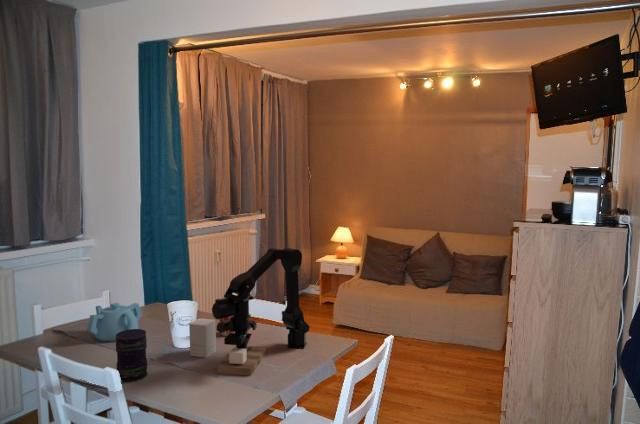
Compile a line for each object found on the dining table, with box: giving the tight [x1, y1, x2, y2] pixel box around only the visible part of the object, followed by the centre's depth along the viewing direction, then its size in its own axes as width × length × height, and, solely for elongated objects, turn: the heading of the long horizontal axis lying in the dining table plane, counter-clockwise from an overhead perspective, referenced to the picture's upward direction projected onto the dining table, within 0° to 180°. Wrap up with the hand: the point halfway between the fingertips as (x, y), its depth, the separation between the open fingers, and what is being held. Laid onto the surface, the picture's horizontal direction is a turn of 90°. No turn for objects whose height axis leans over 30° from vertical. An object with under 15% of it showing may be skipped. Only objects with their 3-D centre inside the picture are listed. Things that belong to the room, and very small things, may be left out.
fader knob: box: [228, 347, 247, 364], centre depth 172 cm, size 4×5×4 cm
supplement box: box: [188, 318, 217, 359], centre depth 187 cm, size 7×7×13 cm
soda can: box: [218, 316, 235, 337], centre depth 208 cm, size 7×7×13 cm
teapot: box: [86, 302, 143, 342], centre depth 206 cm, size 19×19×14 cm
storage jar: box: [115, 328, 148, 383], centre depth 166 cm, size 10×10×15 cm
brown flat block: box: [217, 345, 268, 376], centre depth 178 cm, size 20×12×3 cm, turn 171°
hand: (241, 355), depth 176 cm, fingers closed
